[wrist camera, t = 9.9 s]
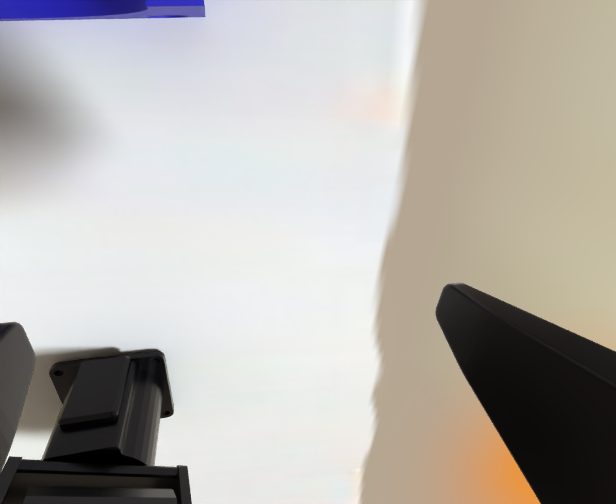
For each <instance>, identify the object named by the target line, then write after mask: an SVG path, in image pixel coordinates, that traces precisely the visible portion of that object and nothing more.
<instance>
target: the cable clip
mask: <svg viewBox="0 0 616 504" xmlns="http://www.w3.org/2000/svg"><path fill="white" fill-rule="evenodd" d="M180 17H205V6H204V0H0V21H24V20H76V19H128V18H180Z"/></svg>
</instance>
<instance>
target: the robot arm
mask: <svg viewBox="0 0 616 504" xmlns="http://www.w3.org/2000/svg"><path fill="white" fill-rule="evenodd" d="M436 318H437V321H438V323H439V325H440V327H441V329H442V331H443V333H444V335H445V338H446V340H447V342H448V344H449V346H450V348H451V350H452V352H453V354H454V356H455V358H456V360H457V363H458V365H459V367H460V369H461V371H462V373H463V374H464V376H465V378H466V380H467V381H468V383H469V385H470V386H471V388H472V390H473V391H474V393H475V395H476V396H477V398H478V400H479V401H480V403H481V405H482V406H483V408H484V410H485V411H486V413H487V414H488V416H489V418H490V420H491V422H492V423H493V425H494V427H495V428H496V430H497V432H498V433H499V435H500V437H501V438H502V440H503V442H504V443H505V445H506V447H507V448H508V450H509V451H510V453H511V455H512V457H513V458H514V460H515V462H516V463H517V465H518V467H519V468H520V470H521V472H522V473H523V475H524V476H525V478H526V480H527V482H528V483H529V485H530V487H531V488H532V490H533V491H534V493H535V495H536V497H537V498H538V500H539V502H540V503H541V504H616V352H615V351H613V350H611V349H609V348H606V347H604V346H602V345H600V344H598V343H595V342H593V341H591V340H589V339H586V338H584V337H582V336H580V335H577V334H575V333H573V332H571V331H569V330H566V329H564V328H562V327H559V326H557V325H555V324H553V323H551V322H548V321H546V320H544V319H542V318H540V317H537V316H535V315H533V314H531V313H528V312H526V311H524V310H522V309H519V308H517V307H515V306H513V305H511V304H508V303H506V302H504V301H501V300H499V299H497V298H495V297H493V296H491V295H488V294H486V293H484V292H482V291H479V290H477V289H475V288H472V287H470V286H468V285H466V284H464V283H453V284H447V285H446V286H445V287H444V288H443V290H442V293H441V296H440V299H439V301H438V304H437V307H436ZM155 358H157V359H155ZM34 367H35V353H34V351H33V348H32V346H31V344H30V342H29V339H28V337H27V335H26V333H25V331H24V328H23V327H22V325H21V324H19V323H17V322H8V323H0V504H192V502H191V493H190V485H189V476H188V468H187V466H181V465H178V466H177V467H165V466H154V464H155V455H156V447H157V439H158V431H159V423H160V418H166V417H170V416H172V415H173V412H174V404H173V399H172V393H171V388H170V382H169V377H168V371H167V366H166V360H165V355H164V353H162V352H160V351H153V352H144V353H135V354H127V355H118V356H110V357H101V358H93V359H84V360H75V361H67V362H59V363H55V364H53V366H52V367H51V369H50V371H49V375H50V377H51V379H52V381H53V384H54V386H55V388H56V390H57V393H58V395H59V397H60V399H61V402H62V404H63V406H62V408H61V411H60V413H59V416H58V418H57V421H56V423H55V426H54V429H53V431H52V434H51V436H50V439H49V441H48V444H47V446H46V449H45V451H44V454H43V457H42V459H41V460H26V459H22V457H10V456H9V458H8V460H7V462H6V464H5V461H6V458H7V456H8V453H9V451H10V448H11V445H12V442H13V439H14V436H15V433H16V429H17V426H18V422H19V419H20V415H21V412H22V408H23V405H24V402H25V398H26V395H27V391H28V388H29V384H30V381H31V377H32V374H33V370H34ZM59 370H61V371H59ZM4 464H5V466H4ZM3 466H4V468H3ZM2 468H3V470H2Z"/></svg>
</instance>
